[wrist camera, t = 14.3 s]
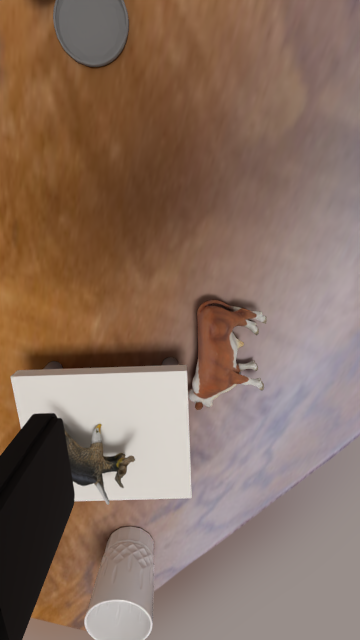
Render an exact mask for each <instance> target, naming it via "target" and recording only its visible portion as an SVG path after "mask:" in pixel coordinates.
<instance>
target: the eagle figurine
mask: <svg viewBox="0 0 360 640" xmlns="http://www.w3.org/2000/svg"><path fill="white" fill-rule="evenodd" d="M101 426H102V424H99V425H98V426H97V427H96V428H95V430H94V432H93V434H92V440H91V445H90V447H89V448H84V447H81V446H80V445H78V444H77V443H76V442H75V441H74V440H73V439H72V438H71V437H70V436H69V435H68V433H67V431H66V430H65V428H64V430H65V436H66V442H67V449H68V455H69V461H70V467H71V473H72V480H73V482H75V483H76V484H78V485H81V486H87V485H90V484H93V483H94V484H95V486H96V487H97V488H98V490H99V492H100V493H101V495H102V497H103V499H104V500H105V502H106V504H108V505H109V500H108V497H107V494H106V492H105V490H104V482H103V476H102V473H107V472H117V473H116V476H115V481H116V482H117V483H118V485H119V486H120V487H121V488H124V486H123V484H122V483H121V478H123V476H124V475H125V474H126V472H127V466H128V464H129V463H130V462H134V461H135V458H134V456H128V457H127V458H125V456H126V455H125V454H123V453H119V454H117V455H116V456H111V457H110V456H107V457H105V456H103V444H102V440H101V432H100V429H101Z"/></svg>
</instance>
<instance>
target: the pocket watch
mask: <svg viewBox="0 0 360 640" xmlns="http://www.w3.org/2000/svg"><path fill="white" fill-rule="evenodd" d="M53 19H54V27H55V31H56V35H57V37H58V39H59V41H60V43H61V45H62V47H63V48H64V50H65V51H66V52H67V53H68V54H69V55H70V56H71V57H72V58H73V59H74V60H76V61H77V62H79V63H81V64H84V65H86V66H89V67H99V66H104V65H106V64H108V63H110V62H112V61H113V60H114V59H115V58H117V56H118V55H119V54H120V53H121V51H122V49H123V48H124V45H125V44H126V40H127V36H128V31H129V29H128V27H129V21H128V13H127V9H126V6H125V3H124V1H123V0H56V2H55V6H54V13H53Z"/></svg>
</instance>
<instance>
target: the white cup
mask: <svg viewBox="0 0 360 640" xmlns="http://www.w3.org/2000/svg"><path fill="white" fill-rule="evenodd" d="M153 595H154V541H153V539H152V537H151V536H150V534H149V533H147V532H146V531H144V530H143V529H141V528H137V527H131V526H129V527H123V528H119V529H118V530H116V531H115V532H113V533H112V534H111V536H110V538H109V540H108V542H107V546H106V549H105V553H104V555H103V558H102V561H101V564H100V568H99V571H98V574H97V577H96V581H95V584H94V588H93V591H92V595H91V599H90V602H89V606H88V609H87V613H86V616H85V628H86V630H87V632H88V633H89V634H90V636H91V637H93V638H94V639H95V640H145V639H146V638H147V637H148V635H149V634H150V632H151V630H152V623H153Z"/></svg>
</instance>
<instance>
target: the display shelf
mask: <svg viewBox="0 0 360 640" xmlns="http://www.w3.org/2000/svg"><path fill="white" fill-rule="evenodd" d="M11 381H12V386H13V391H14V396H15V401H16V406H17V411H18V416H19V421H20V426H21V429H22V427H23V426H24V425H25V424H26V422H27V421H28V420H29V418H30V417H31V416H32V415H33V414H39V413H55V414H56V416H57V418H61V419H62V420H63V424H64V428H65V430H66V431H67V433H68V435H69V436H70V437H71V438H72V439H73V440H74V441H75V442H76V443H77V444H78V445H80V446H81V447H84V448H89V447H90V445H91V440H92V434H93V432H94V430H95V428H96V427H97V426H98V425H99V424H102V426H101V429H100V432H101V440H102V444H103V456H105V457H107V456H110V457H111V456H116V455H117V454H119V453H123V454H125V455H126V456H125V458H127V457H128V456H134V458H135V461H134V462H130V463H129V464H128V466H127V472H126V474H125V475H124V476H123V478H121V483H122V484H123V486H124V488H121V487H120V486H119V485H118V483H117V482H116V481H115V476H116V473H117V472H107V473H102V476H103V482H104V490H105V492H106V494H107V497H108V500H140V499H178V498H192V497H191V469H190V441H189V413H188V385H187V365H178V361H177V360H176V359H175V358H172V357H168V358H166V359H164V360H163V362H162V366H133V367H103V368H73V369H63V367H62V365H61V364H60V363H59V362H56V361H52V362H49V363H48V364H47V365H46V366H45V367H44V369H43V370H17V371H16V372H15V373H14V374H13V375H12V376H11ZM73 486H74V492H75V499H74V501H102V500H104V499H103V497H102V495H101V493H100V492H99V490H98V488H97V487H96V486H95V484H94V483H93V484H90V485H87V486H81V485H78V484H76V483H75V482H73Z"/></svg>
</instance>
